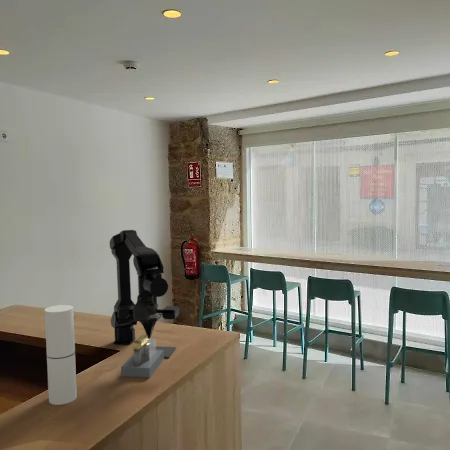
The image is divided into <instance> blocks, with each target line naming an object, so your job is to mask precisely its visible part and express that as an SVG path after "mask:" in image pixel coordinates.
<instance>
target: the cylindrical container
mask: <svg viewBox="0 0 450 450" xmlns="http://www.w3.org/2000/svg"><path fill="white" fill-rule="evenodd" d="M74 316H75V315H74V306H73V305H71V304H70V305H69V304H59V305H52V306H47V307H46V308H45V309H44V321H45V322H44V324H45V342H46V344H45V345H46V365H47V367H46V368H47V370H46V371H47V388H48V402H49V404H51V405H54V406H58V405H59V406H61V405H66V404H67V405H68V404H70V403H71V402H73V401H75V400H76V399H77V396H78V395H77V393H78V392H77V372H76V371H77V368H76V347H75V346H76V344H75V343H76V341H75V321H74V318H75V317H74Z"/></svg>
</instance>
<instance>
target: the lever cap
mask: <svg viewBox="0 0 450 450" xmlns="http://www.w3.org/2000/svg"><path fill="white" fill-rule="evenodd" d="M156 346H157V338H150V339H149V340H148V341H147V342H146V343H145V344H144V345H143V347H142V348H141V350H140V352H141V360H150V359H151V358H152V357H153V355H154V354H155V353H156Z"/></svg>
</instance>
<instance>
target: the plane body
mask: <svg viewBox="0 0 450 450" xmlns="http://www.w3.org/2000/svg"><path fill="white" fill-rule="evenodd" d="M164 359H165V358H164V350H156V353H155V354H154V355H153V357H152V358H151V359H150V360H141V352H140V350H139V351H134V350H133V354H132V355H131V356H130V357H129V358H128V359H127V360H125V362H124V363H123V364H122V365H121V366H120V370H121V371H120V374H121V375H120V377H128V378H145V379H150V378H151V377H152V376H153V375H154V374H155V372H156V371H157V370H158V368H159V367H160V366H161V364H162V362H163V361H164Z"/></svg>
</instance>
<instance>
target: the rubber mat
mask: <svg viewBox="0 0 450 450" xmlns="http://www.w3.org/2000/svg"><path fill="white" fill-rule="evenodd" d="M156 350H164V359H170V357H171V356H172V354H173V353H174V352H175V351H176V346H161V345H159V346H158V345H156Z"/></svg>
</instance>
